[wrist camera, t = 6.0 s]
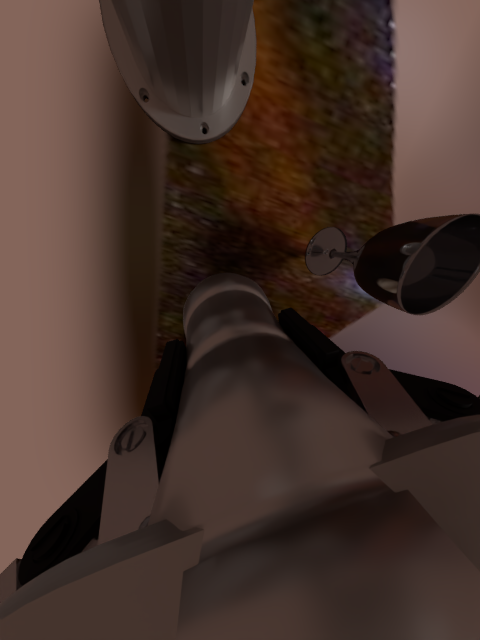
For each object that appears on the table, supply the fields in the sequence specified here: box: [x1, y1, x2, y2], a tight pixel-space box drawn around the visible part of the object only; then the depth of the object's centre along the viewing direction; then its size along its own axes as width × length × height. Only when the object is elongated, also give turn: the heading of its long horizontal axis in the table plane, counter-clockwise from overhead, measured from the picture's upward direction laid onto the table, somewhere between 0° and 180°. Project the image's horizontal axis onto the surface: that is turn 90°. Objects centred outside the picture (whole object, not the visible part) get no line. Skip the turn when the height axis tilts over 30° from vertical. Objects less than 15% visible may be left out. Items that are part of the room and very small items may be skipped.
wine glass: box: [305, 214, 480, 315], centre depth 20 cm, size 8×8×15 cm
